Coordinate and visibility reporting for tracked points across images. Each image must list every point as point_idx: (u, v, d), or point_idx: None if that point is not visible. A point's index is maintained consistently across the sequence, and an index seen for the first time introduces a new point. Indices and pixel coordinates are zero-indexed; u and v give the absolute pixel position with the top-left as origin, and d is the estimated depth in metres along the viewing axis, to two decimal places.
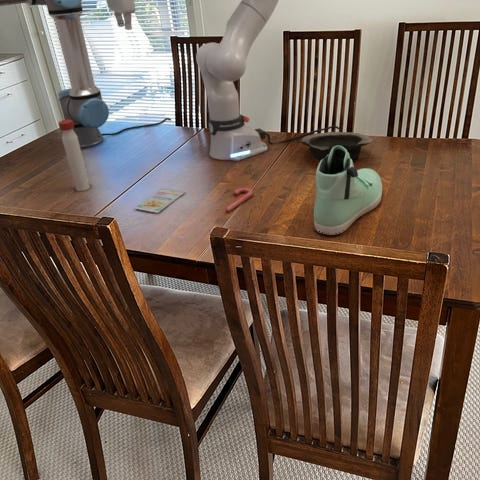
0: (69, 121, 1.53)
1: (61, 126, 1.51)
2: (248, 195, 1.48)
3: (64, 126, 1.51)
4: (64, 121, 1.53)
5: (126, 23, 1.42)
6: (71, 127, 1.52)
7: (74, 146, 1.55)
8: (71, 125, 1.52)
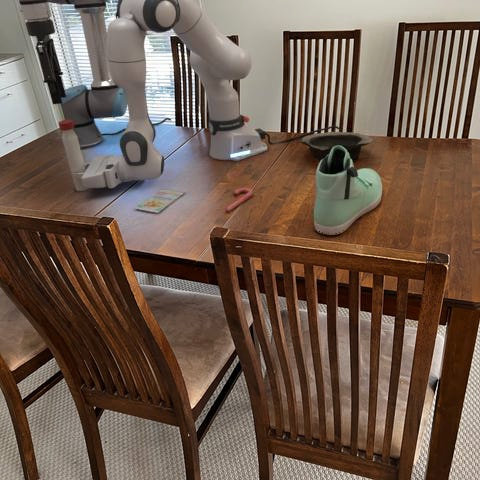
0: (69, 121, 1.53)
1: (61, 126, 1.51)
2: (248, 195, 1.48)
3: (64, 126, 1.51)
4: (64, 121, 1.53)
5: None
6: (71, 127, 1.53)
7: (74, 146, 1.55)
8: (71, 125, 1.52)
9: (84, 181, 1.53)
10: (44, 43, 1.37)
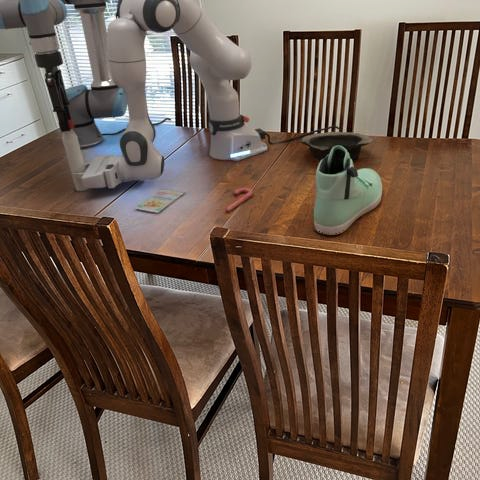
0: (69, 121, 1.53)
1: None
2: (248, 195, 1.48)
3: None
4: None
5: None
6: (71, 127, 1.53)
7: (74, 146, 1.55)
8: (71, 125, 1.52)
9: (84, 181, 1.53)
10: (52, 74, 1.41)
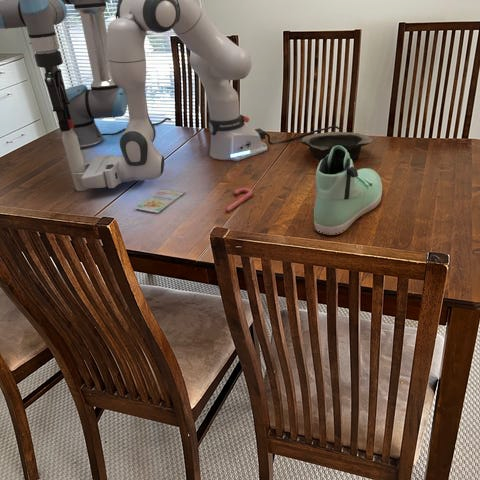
0: None
1: (72, 123, 1.53)
2: (248, 195, 1.48)
3: None
4: None
5: None
6: None
7: (74, 146, 1.55)
8: None
9: (84, 181, 1.53)
10: (52, 74, 1.41)
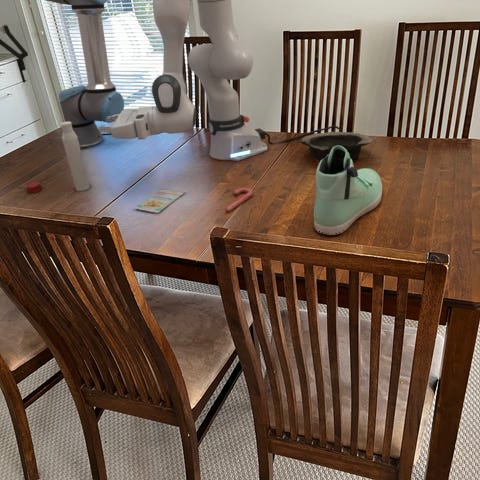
0: (35, 183, 1.66)
1: (36, 188, 1.64)
2: (248, 195, 1.48)
3: (38, 187, 1.64)
4: (31, 185, 1.64)
5: None
6: (40, 187, 1.67)
7: (74, 146, 1.55)
8: None
9: (113, 131, 1.44)
10: None
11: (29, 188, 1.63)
